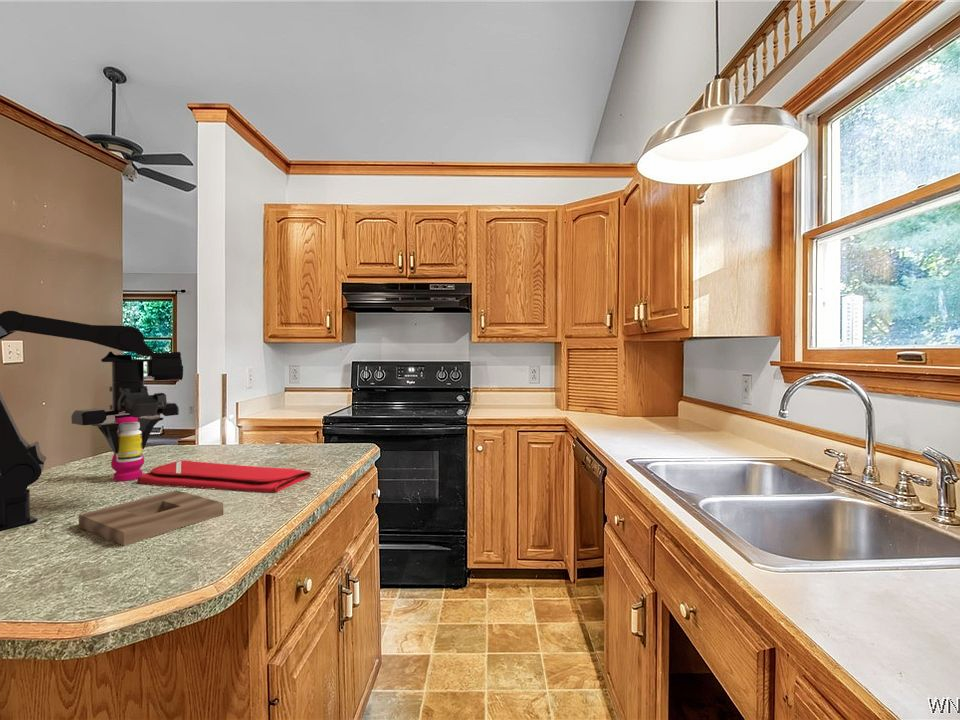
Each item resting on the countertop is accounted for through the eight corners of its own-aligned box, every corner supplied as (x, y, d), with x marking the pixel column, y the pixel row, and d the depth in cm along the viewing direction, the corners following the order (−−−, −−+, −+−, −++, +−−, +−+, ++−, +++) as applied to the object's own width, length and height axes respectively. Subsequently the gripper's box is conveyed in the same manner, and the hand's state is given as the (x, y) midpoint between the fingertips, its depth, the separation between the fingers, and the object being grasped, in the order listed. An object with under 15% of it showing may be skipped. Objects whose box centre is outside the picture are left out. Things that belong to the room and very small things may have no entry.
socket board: (79, 527, 90) (78, 514, 90) (176, 501, 106) (176, 490, 106) (123, 546, 81) (123, 532, 81) (223, 514, 97) (223, 502, 97)
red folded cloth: (274, 495, 111) (274, 480, 111) (135, 486, 120) (135, 471, 120) (311, 478, 127) (311, 464, 127) (185, 470, 135) (185, 458, 135)
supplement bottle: (146, 459, 105) (145, 422, 105) (121, 463, 101) (120, 425, 101) (136, 456, 107) (136, 420, 107) (112, 461, 103) (111, 423, 103)
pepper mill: (140, 473, 130) (139, 402, 130) (148, 477, 126) (147, 404, 125) (108, 479, 125) (106, 405, 124) (115, 483, 120) (113, 407, 120)
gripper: (94, 386, 92) (95, 464, 92) (191, 380, 108) (192, 447, 108) (69, 384, 97) (71, 458, 97) (165, 379, 113) (166, 442, 114)
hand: (129, 451), depth 104 cm, fingers closed on supplement bottle, 5 cm apart
